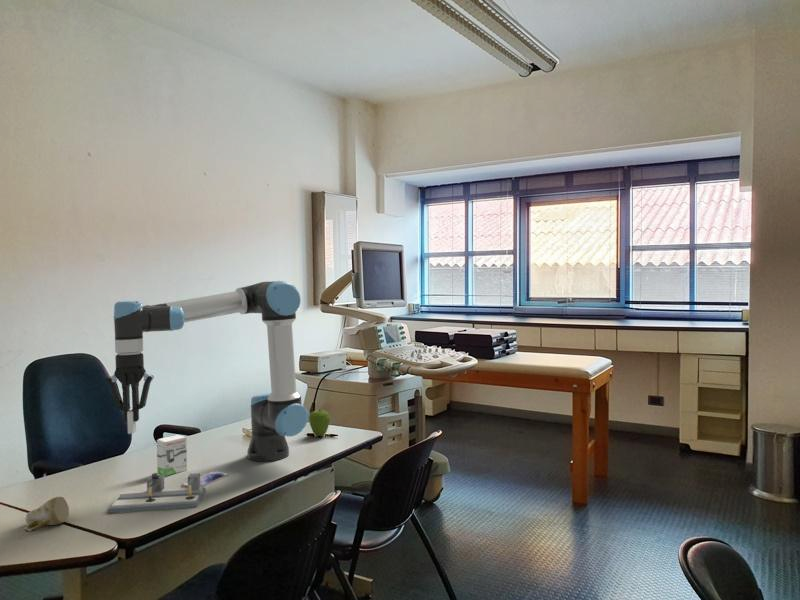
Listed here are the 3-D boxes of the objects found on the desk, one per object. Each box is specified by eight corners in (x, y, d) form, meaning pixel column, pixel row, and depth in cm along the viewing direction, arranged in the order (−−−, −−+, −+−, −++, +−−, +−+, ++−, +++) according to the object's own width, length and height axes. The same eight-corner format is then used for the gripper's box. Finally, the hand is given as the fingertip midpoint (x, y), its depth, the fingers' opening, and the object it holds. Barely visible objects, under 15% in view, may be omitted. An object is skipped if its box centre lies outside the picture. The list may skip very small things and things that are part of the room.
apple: (312, 433, 245) (312, 406, 245) (332, 433, 245) (331, 406, 244) (307, 439, 237) (306, 411, 236) (327, 439, 236) (326, 411, 236)
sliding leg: (164, 489, 174) (163, 471, 174) (157, 498, 166) (156, 480, 166) (150, 490, 173) (149, 472, 173) (142, 499, 166) (142, 481, 166)
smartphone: (229, 473, 193) (196, 488, 180) (230, 476, 193) (196, 490, 180) (213, 470, 196) (179, 484, 183) (213, 473, 196) (179, 487, 183)
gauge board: (205, 491, 178) (205, 470, 178) (196, 507, 165) (196, 484, 165) (123, 496, 175) (123, 475, 174) (108, 513, 162) (107, 490, 162)
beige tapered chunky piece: (30, 521, 158) (50, 487, 160) (60, 537, 157) (80, 502, 159) (13, 525, 150) (34, 489, 152) (44, 542, 150) (66, 506, 152)
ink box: (164, 476, 192) (163, 441, 192) (156, 474, 195) (155, 439, 195) (187, 470, 199) (187, 436, 199) (180, 467, 202) (179, 434, 202)
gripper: (156, 351, 175) (158, 428, 176) (110, 352, 173) (113, 430, 174) (148, 353, 167) (151, 434, 168) (101, 355, 166) (104, 437, 166)
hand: (132, 432), depth 171 cm, fingers closed
